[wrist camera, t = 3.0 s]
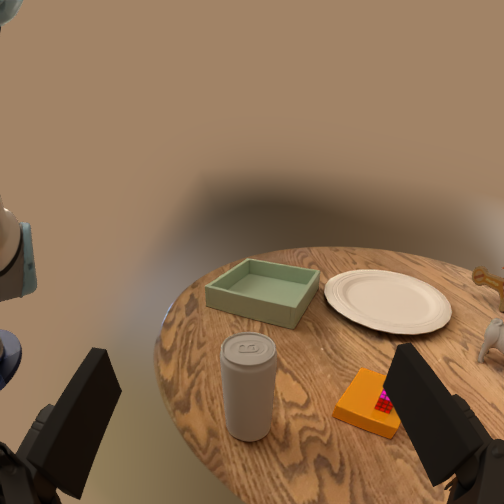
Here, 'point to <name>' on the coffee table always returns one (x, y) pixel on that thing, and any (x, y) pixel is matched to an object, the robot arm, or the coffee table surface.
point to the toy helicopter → (489, 282)
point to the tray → (264, 291)
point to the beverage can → (248, 384)
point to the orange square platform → (368, 405)
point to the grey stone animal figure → (493, 338)
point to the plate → (388, 302)
